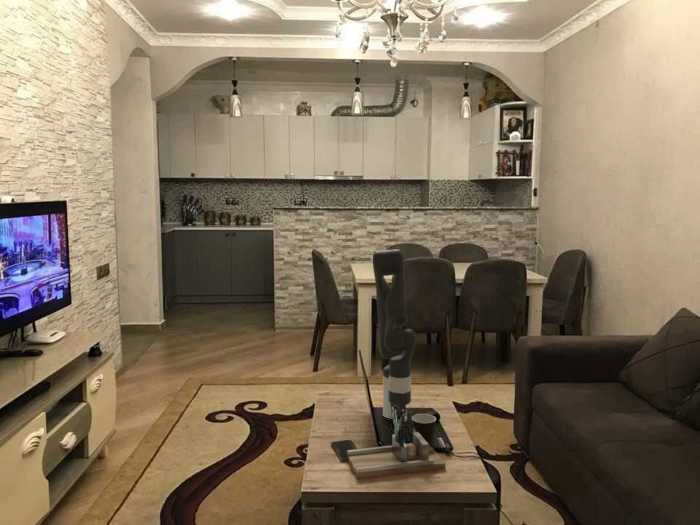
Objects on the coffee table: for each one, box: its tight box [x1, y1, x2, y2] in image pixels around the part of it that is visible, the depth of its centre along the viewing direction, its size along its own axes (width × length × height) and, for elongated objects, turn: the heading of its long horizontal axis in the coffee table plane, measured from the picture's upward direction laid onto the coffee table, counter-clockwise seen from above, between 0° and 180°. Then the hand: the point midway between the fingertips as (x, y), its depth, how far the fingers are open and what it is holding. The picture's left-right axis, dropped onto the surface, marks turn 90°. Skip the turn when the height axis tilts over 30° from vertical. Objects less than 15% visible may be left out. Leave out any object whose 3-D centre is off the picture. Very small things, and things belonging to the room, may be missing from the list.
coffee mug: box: [411, 413, 437, 445], centre depth 217 cm, size 12×9×10 cm
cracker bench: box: [347, 432, 446, 480], centre depth 201 cm, size 15×30×8 cm, turn 103°
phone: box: [330, 439, 358, 463], centre depth 211 cm, size 8×1×15 cm
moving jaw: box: [391, 419, 407, 463], centre depth 201 cm, size 10×3×13 cm, turn 13°
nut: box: [406, 442, 417, 459], centre depth 202 cm, size 4×4×4 cm
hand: (399, 437), depth 201 cm, fingers closed on moving jaw, 3 cm apart
